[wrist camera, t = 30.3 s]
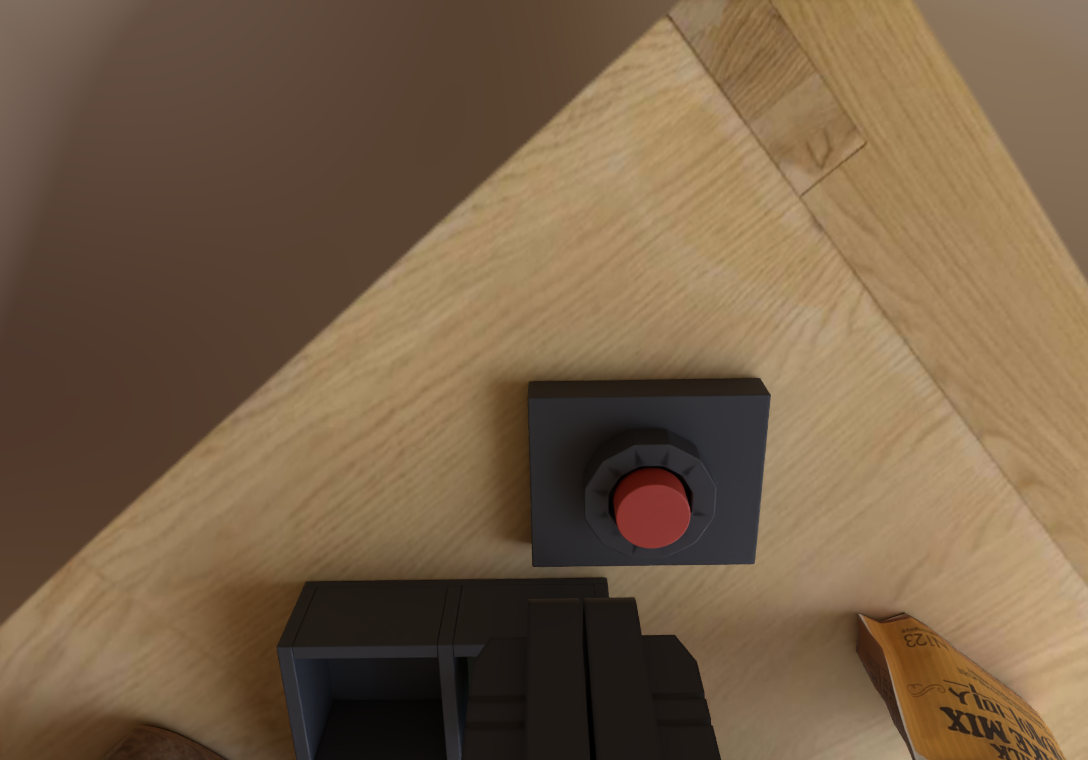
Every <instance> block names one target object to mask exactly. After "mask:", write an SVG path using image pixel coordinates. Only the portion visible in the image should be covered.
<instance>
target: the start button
mask: <svg viewBox="0 0 1088 760" xmlns="http://www.w3.org/2000/svg"><path fill="white" fill-rule="evenodd" d="M613 501H614V510H615V517H616V523H617V527H618V529H619V531H620V533H621V534H622V535H623V537H624V538H625V539H627V540H628V541H629V542H631V543H632V544H634V545H637V546H640V547H644V548H660V547H664V546H667V545H669V544H671V543H673V542H675V541H676V540H678V539H679V538H680V537H681V536H682V535H683V534H684V532H685V531H686V529H687V527H688V525H689V522H690V516H691V514H690V507H689V504H688V500H687V497H686V494H685V490H684V487H683V485H682V483H681V482H680V481H679V479H678V478H677V477H676V476H674V475H673V474H672V473H670V472H668V471H666V470H663V469H660V468H642V469H639V470H636V471H633V472H631V473H630V474H628V475H627V476H626V477H624V478H623V479H622V480H621V482H620V483H619V484H618V486H617V488H616V490H615V493H614V499H613Z"/></svg>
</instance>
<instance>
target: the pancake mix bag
mask: <svg viewBox="0 0 1088 760" xmlns="http://www.w3.org/2000/svg"><path fill="white" fill-rule="evenodd" d="M856 651H857V653H858V655H859V657H860V659H861V661H862V663H863V665H864V667H865V669H866V671H867V673H868V675H869V677H870V679H871V681H872V683H873V685H874V687H875V688H876V690H877V691H878V692H879V694H880V695H881V697H882V698H883V700H884V701H885V702H886V705H887V707H888V710H889V712H890V715H891V717H892V720H893V722H894V724H895V726H896V728H897V729H898V731H899V733H900V734H901V736H902V738H903V739H904V741H905V743H906V745H907V747H908V750H909V752H910V754H911V757H912V759H913V760H1066V759H1065V757H1064V755H1063V753H1062V751H1061V749H1060V748H1059V746H1058V744H1057V742H1056V740H1055V738H1054V736H1053V734H1052V733H1051V731H1050V729H1049V728H1048V727H1047V725H1046V724H1045V723H1044V721H1043V720H1042V719H1041V717H1040V716H1039V715H1038V713H1037V712H1036V711H1035V710H1034V709H1033V708H1032V707H1030V706H1029V705H1028V704H1027V703H1026V702H1025V701H1024V700H1023V699H1022V698H1021V697H1019V696H1018V695H1017V694H1015V693H1014V692H1013V691H1011V690H1010V689H1009V688H1007V687H1006V686H1005V685H1003V684H1002V683H1001V682H999V681H998V680H997V679H995V678H994V677H993V676H991V675H990V674H989V673H987V672H986V671H985V670H983V669H982V668H981V667H979V666H978V665H977V664H975V663H974V662H973V661H971V660H970V659H969V658H967V657H966V656H964V655H963V654H962V653H960V652H959V651H957V650H956V649H955V648H954V647H953V646H951V645H950V644H949V643H948V642H946V641H945V640H944V639H943V638H942V637H940V636H939V635H938V634H936V633H935V632H934V631H933V630H931V629H930V628H929V627H927V626H926V625H925V624H923V623H922V622H920V621H918V620H916V619H915V618H913V617H911V616H910V615H908V614H906V613H905V614H902V615H899V616H896V617H893V618H890V619H886V620H883V621H880V622H879V621H877V620H874V619H872V618H869V617H866V616H864V615H861V614H859V613H858V637H857V648H856Z"/></svg>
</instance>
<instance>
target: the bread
mask: <svg viewBox="0 0 1088 760" xmlns="http://www.w3.org/2000/svg"><path fill="white" fill-rule="evenodd" d="M101 760H224V759H222V758H221V757H219V756H218V755H216V754H215V753H213V752H211V751H210V750H208V749H206V748H204V747H202V746H200V745H199V744H197V743H195V742H193V741H191V740H189V739H186V738H184V737H182V736H180V735H178V734H176V733H173V732H170V731H166V730H163V729H160V728H156V727H151V726H146V725H139V726H138V727H137V728H136V729H135V730H133V731H132V732H131V733H130V734H129V735H128V736H126V737H125V738H124V739H123V740H122V741H120V742H119V743H118V744H117V745H116V746H115V747H114V748H113V749H112V750H111V751H110V752H109V753H107V754H106V755H105V756H104V757H103V758H102V759H101Z"/></svg>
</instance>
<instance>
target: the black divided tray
mask: <svg viewBox="0 0 1088 760" xmlns="http://www.w3.org/2000/svg"><path fill="white" fill-rule="evenodd" d="M565 598H579V603H580V618H581V632H582V617H583V598H609V592H608V583H607V578H570V579H488V580H406V581H324V582H306V583H305V585H304V587H303V589H302V592H301V594H300V596H299V598H298V601H297V603H296V605H295V607H294V610H293V612H292V614H291V616H290V618H289V621H288V623H287V625H286V627H285V630H284V632H283V634H282V636H281V639H280V641H279V643H278V645H277V652H278V658H279V664H280V669H281V675H282V681H283V686H284V692H285V697H286V703H287V709H288V714H289V720H290V726H291V731H292V737H293V742H294V748H295V754H296V759H297V760H461V758H462V748H463V739H464V730H465V721H466V712H467V703H468V694H469V684H470V675H471V666H472V663H473V662H474V660H475V659H476V657H477V656H478V654H479V653H480V651H481V650H482V648H483V647H484V645H485V644H486V642H487V641H488V639H489V638H490V637H527V609H528V599H565Z"/></svg>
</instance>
